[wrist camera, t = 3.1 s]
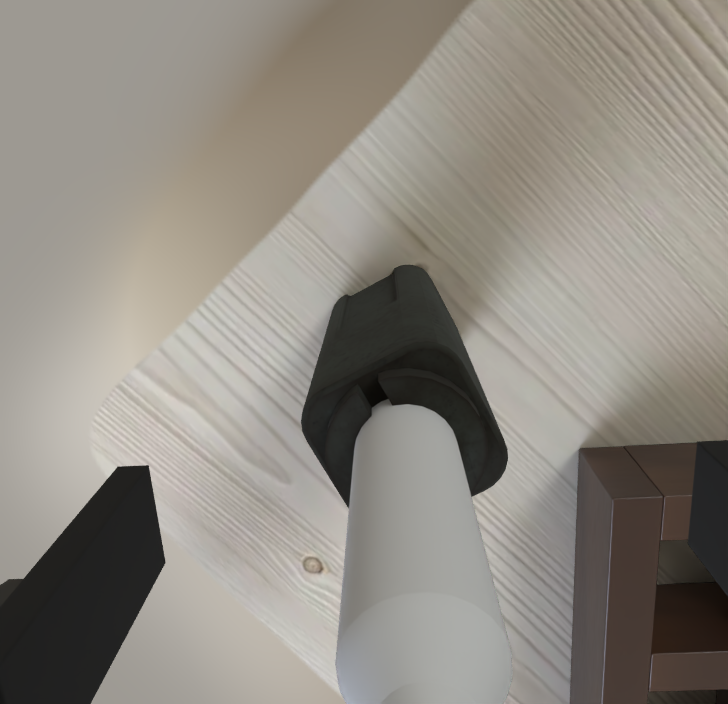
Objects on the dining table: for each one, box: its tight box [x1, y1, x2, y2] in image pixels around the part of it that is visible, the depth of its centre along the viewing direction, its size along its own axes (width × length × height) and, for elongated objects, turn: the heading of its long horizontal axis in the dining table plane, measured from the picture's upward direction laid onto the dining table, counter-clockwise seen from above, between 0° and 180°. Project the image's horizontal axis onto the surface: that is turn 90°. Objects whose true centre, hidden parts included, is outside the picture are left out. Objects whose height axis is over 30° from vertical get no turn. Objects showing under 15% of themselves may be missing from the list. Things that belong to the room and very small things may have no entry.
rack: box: [570, 443, 728, 704], centre depth 33 cm, size 10×19×5 cm, turn 4°
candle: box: [301, 265, 512, 704], centre depth 19 cm, size 5×5×25 cm
